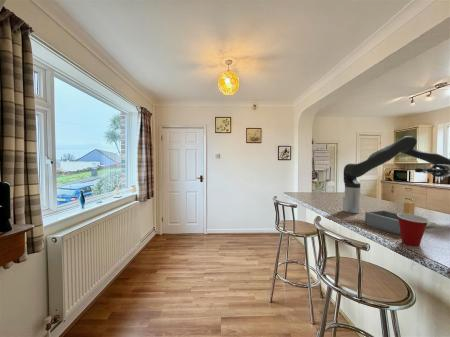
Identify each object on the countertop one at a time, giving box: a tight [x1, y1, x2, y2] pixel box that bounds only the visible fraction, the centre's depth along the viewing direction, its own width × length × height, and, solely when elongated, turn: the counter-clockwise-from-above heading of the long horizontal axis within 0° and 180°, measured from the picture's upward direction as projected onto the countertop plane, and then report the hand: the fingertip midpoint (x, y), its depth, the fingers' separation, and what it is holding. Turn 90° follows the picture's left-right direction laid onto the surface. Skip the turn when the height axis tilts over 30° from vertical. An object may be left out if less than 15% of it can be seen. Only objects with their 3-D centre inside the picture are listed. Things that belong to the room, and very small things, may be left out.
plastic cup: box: [397, 212, 431, 247], centre depth 94 cm, size 11×11×12 cm
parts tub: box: [364, 210, 401, 236], centre depth 115 cm, size 18×14×7 cm
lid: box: [403, 201, 436, 228], centre depth 125 cm, size 18×14×12 cm
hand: (424, 170), depth 127 cm, fingers open, 8 cm apart
